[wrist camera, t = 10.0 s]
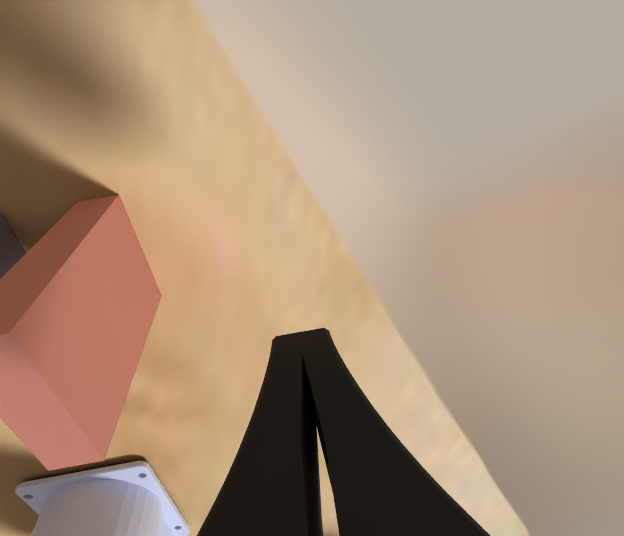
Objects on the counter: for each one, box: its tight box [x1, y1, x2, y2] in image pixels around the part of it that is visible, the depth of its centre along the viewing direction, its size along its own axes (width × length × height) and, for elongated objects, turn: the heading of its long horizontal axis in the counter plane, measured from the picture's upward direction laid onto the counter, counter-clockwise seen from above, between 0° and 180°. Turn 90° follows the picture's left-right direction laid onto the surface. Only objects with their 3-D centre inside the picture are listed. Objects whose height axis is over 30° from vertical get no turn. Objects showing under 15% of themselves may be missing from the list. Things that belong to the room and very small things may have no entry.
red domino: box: [0, 195, 162, 471], centre depth 13 cm, size 2×5×8 cm, turn 7°
